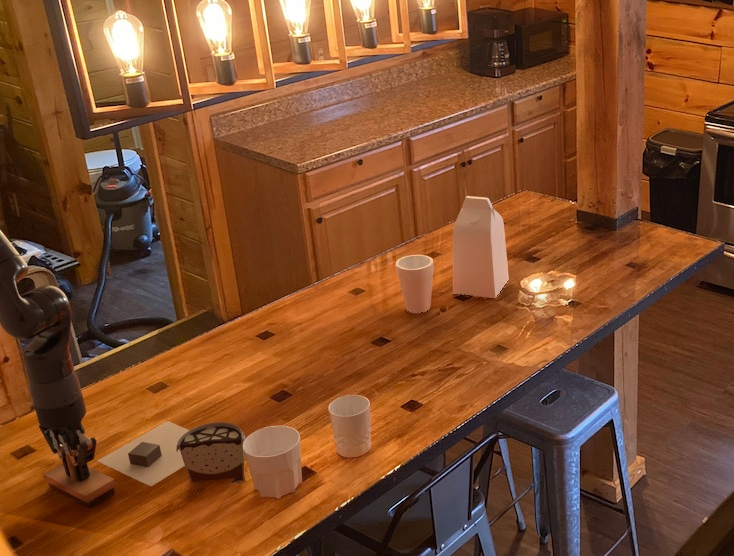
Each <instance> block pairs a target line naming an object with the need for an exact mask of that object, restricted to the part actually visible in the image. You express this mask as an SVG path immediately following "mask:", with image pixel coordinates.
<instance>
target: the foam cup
mask: <svg viewBox="0 0 734 556" xmlns="http://www.w3.org/2000/svg"><path fill="white" fill-rule="evenodd" d="M433 259H434V258H433V257H430V256H428V255H424V254H410V255H405V256H403V257H400V258H398V259H397V260H396V262H395V269H396V270H395V271H396V275H397V276H398V280H399V286H400V290H401V293H402V299H403V302H404V307H405V310H407V311H406V312H408V311H409V312H408V313H410V312H411V313H410V314H422V313H421V312H423V313H426V312H428V311H429V310H430V309H431V308H430V307H432V293H433V278H434V271H435V264H434V260H433ZM427 310H428V311H427Z"/></svg>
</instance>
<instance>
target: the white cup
mask: <svg viewBox="0 0 734 556" xmlns="http://www.w3.org/2000/svg"><path fill="white" fill-rule="evenodd" d="M327 408H328V409H327V410H328V415H329V421H330V427H331V430H332V431H331V432H332V436H333V440H334V443H335V448H336V453H337V454H338V455H340V456H341V457H343V458H348V459H349V458H350V459H351V458H357V457H361V456H364V455H365V454H367V453H369V451H370V450H371V448H372V437H371V436H372V419H371V402H370V400H369V399H368V398H367V396H363V395H360V394H348V395H347V394H346V395H342V396H340V397H337V398H335V399H334V400H332V401H331V402H330V403H329V404H328V407H327Z"/></svg>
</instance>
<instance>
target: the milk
mask: <svg viewBox="0 0 734 556" xmlns="http://www.w3.org/2000/svg"><path fill="white" fill-rule="evenodd" d="M508 266H509V264H508V253H507V244H506V232H505V222H504V218H503V217H502V216H501V214H500V213H499V212H498V211H497V210H496V209H495V208H494V207H493V204H492V202H491V200H490V198H489V197H484V196H471V195H466V196H465V198H464V201H463V203H462V206H461V208H460V210H459V213H458V215H457V217H456V220H455V223H454V225H453V228H452V295H453V294H462V295H464V294H465V295H473V296H482V297H489V298H496V297H497V295H498V294H499V293H500V291H501V290H502V288H503V287H504V285H505V284H506V283H507V281H508V280H509V281H510V277H509V267H508ZM507 284H508V283H507ZM504 288H505V287H504ZM502 291H503V290H502ZM502 291H501V292H502ZM500 294H501V293H500ZM500 294H499V295H500ZM499 295H498V296H499ZM497 298H498V297H497ZM497 298H496V299H497Z"/></svg>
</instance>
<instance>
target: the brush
mask: <svg viewBox="0 0 734 556" xmlns="http://www.w3.org/2000/svg"><path fill="white" fill-rule="evenodd" d="M65 457H66V461H67V465H68V469H69V472H70V476H71V477H69V476H67V475H66V472H65V469H64V465H63V463H61V464H59V465H58V466H55V467H53V468H51V469H49V470H48V471H46V472H44V473H43V478H44V482H46V483H48V488H49V489H51V490H53V491H55V492H57V493H59V494H60V495H62V496H64V497H67V498H69V499H71V500H73V501H75V502H77V503H78V504H81V505H82V506H85V507H86V508H89V509H92V508H94V507H95V506H97V505H98V504H100V503H102V502H103V501H105V500H107V499H109V498H110V497H112V496H113V495H115V494H116V492H115V487H116V486H117V485H116V481H115V478H113V477H110V476H108V475H106V474H105V473H102V472H100V471H98V470H96V469H94V468H92V467H90V466H88V469H89V473H90V476H89V477H88V478H87V479H85V480H83V481H82V482H79V481H77V480H76V477H75V473H74V469H73V464H72V461H71V458H70V455H67V454H66V455H65ZM76 457H78V453H77V454H76Z"/></svg>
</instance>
